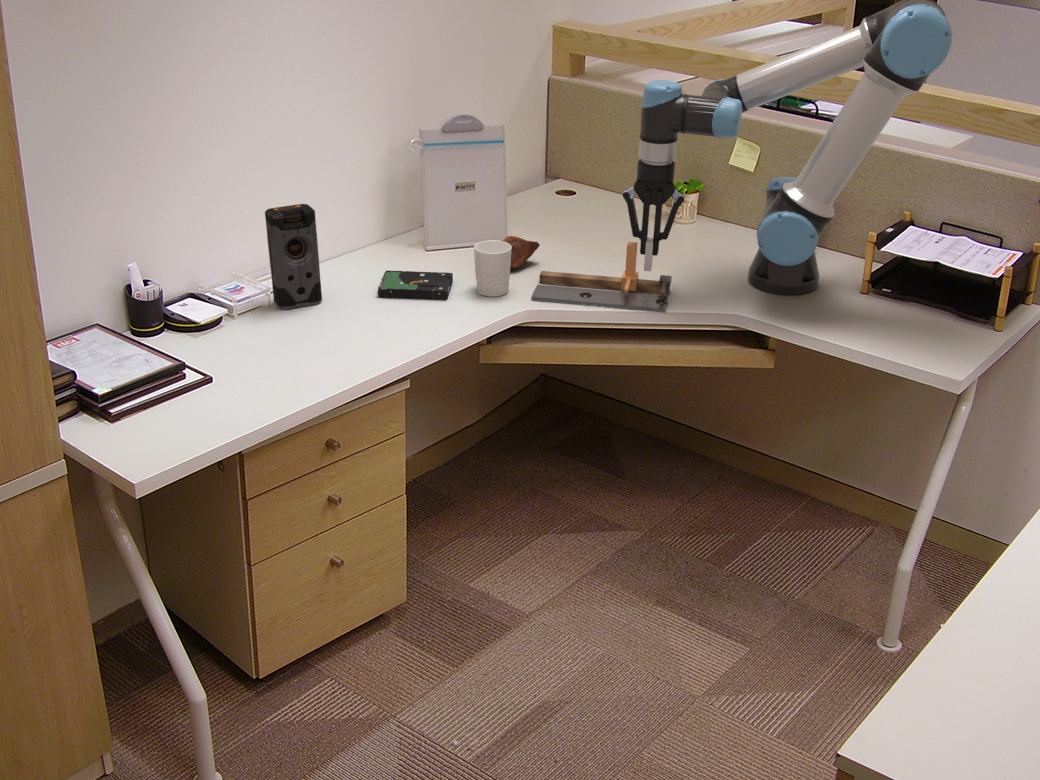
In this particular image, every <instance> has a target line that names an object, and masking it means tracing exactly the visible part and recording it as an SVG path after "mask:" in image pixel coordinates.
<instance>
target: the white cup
mask: <svg viewBox="0 0 1040 780" xmlns="http://www.w3.org/2000/svg"><path fill="white" fill-rule="evenodd" d="M511 249H512V247H511V245H510V244H508V243H506V242H503V241H502V240H495V239H494V240H493V239H492V240H482V241H479V242H477V243H475V245H474V246H473V252H474V253H473V255H474V270H475V271H474V272H475V280H476V291H477V293H478V294H479V295H482V296H484V297H488V298H489V297H492V298H493V297H496V298H497V297H500V296H504V295H507V294H508V293H509V290H510V289H509V287H510V278H511V277H510V276H511V268H510V267H511Z"/></svg>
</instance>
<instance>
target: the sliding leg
mask: <svg viewBox="0 0 1040 780" xmlns="http://www.w3.org/2000/svg"><path fill="white" fill-rule="evenodd" d="M637 254H638V242H635V241H634V242H633V241H627V243H626V255H625V256H626V257H625V270H623V273H622V275H621V278H622V281H621V290H624V291H623V292H624V297H628V293H629V291H628V290H632V291H636V286H637V280H638V279H639V274H640V273H639V271H636V270H637V258H638V257H637ZM621 290H620V291H621ZM632 291H631V292H632Z"/></svg>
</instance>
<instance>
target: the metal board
mask: <svg viewBox="0 0 1040 780" xmlns="http://www.w3.org/2000/svg"><path fill="white" fill-rule="evenodd" d="M530 297H531V299H530V300H531V301H533V300H534V301H535V302H536V301H537V302H547V303H559V304H566V305H567V304H569V305H578V304H585V305H584V306H589V305H596V306H595V307H600V306H605V307H604V308H611V307H614V308H613V309H626V310H634V311H635V310H636V311H645V312H646V311H647V312H655V313H656V312H658V313H666V310H667V305H668V304H669V295H664V300H660V294H651V293H640V292H628V297H624V291H617V290H605V289H602V290H601V289H594V288H582V287H571V286H560V285H548V284H536V286H535V288H534V290H533V293H532V295H531V296H530Z"/></svg>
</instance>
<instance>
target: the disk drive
mask: <svg viewBox="0 0 1040 780" xmlns="http://www.w3.org/2000/svg"><path fill="white" fill-rule="evenodd" d="M453 275H454V274H453V272H441V271H440V272H438V271H434V272H433V271H432V272H431V271H415V270H414V271H411V270H410V271H407V270H385V272H384V273H383V276H382V278H381V280H380V283H379V285H378V287H377V298H379V299H380V298H381V299H399V300H401V299H405V300H424V301H425V300H426V301H427V300H431V301H448V297H449V295H450V292H451V290H452V286H453V284H454V283H453V282H454V276H453Z"/></svg>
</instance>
